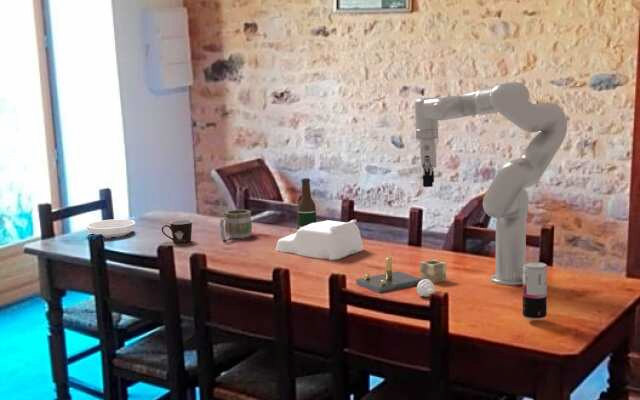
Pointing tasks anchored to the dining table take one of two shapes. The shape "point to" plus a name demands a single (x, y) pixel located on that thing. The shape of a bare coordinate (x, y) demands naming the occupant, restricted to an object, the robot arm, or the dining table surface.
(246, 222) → the mug
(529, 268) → the beverage can
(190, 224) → the coffee mug
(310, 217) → the beer bottle
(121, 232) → the bowl
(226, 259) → the dining table surface
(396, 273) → the pin plate
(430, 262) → the beige patterned cube
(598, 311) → the dining table surface
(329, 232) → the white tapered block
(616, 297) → the dining table surface
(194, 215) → the dining table surface
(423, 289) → the garlic bulb
